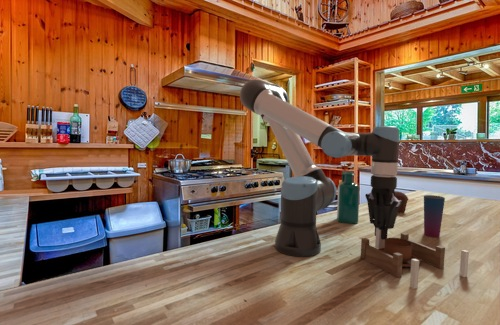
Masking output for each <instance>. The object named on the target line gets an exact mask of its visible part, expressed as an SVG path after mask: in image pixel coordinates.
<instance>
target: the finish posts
mask: <svg viewBox="0 0 500 325" xmlns="http://www.w3.org/2000/svg"><path fill="white" fill-rule="evenodd" d="M469 256H470V251H469V250H466V249H461V250H460V260H459V262H460V263H459V276H460V277H463V278H467V277H468V268H469ZM419 272H420V263H419V260H417V259H411V267H410V277H409V287H410V288H412V290H415V289H418V286H419Z"/></svg>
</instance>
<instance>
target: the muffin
mask: <svg viewBox="0 0 500 325" xmlns="http://www.w3.org/2000/svg"><path fill="white" fill-rule="evenodd" d="M395 194H396V196H395V197H396V198H397V199H398V200H401V201H402V204H401V206H400V207H399V210H398V213H397V214H403V213H405V211H406V208H407V203H408V201H409V197H408V195H406V194H405V193H404V192H401V191H396V190H395Z"/></svg>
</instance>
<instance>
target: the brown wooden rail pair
mask: <svg viewBox="0 0 500 325" xmlns="http://www.w3.org/2000/svg"><path fill="white" fill-rule="evenodd" d="M409 235H410V234H409V233H406V232H400V239H404V240H407V241H409V242H411V243H412V253H413V254H415V255H417V256H418V257H419V258H420V259H421V261H422V262H425V263H427V264H429V265H431V266H433V267H434V268H437V269H439V270H442V269H444V268H445V258H446V257H445V256H446V255H445V254H446V247H445V246H442V245H436V246H435V248H433V247H430V246H427V245H425V244H422V243H420V242H417V241H414V240H412V239H410V238H409ZM360 242H361V244H360V246H361V247H360V258H361V259H363V260H366V261H367V262H369V263H371V264H373V265H374V266H376V267H379V268H380V269H382V270H383V271H385V272H387V273H389V274H391V275H392V276H394V277H395V278H401V277H403V267H402V259H403V255H402V254H400V253H393V256H391V255H389V254H387V253H385V252H383V251H381V250H379V249H378V248H375V246H372V245H370V239H368V238H366V237H364V238H361V239H360Z"/></svg>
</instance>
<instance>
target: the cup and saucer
mask: <svg viewBox="0 0 500 325" xmlns="http://www.w3.org/2000/svg"><path fill="white" fill-rule="evenodd" d="M379 250H381V251H383V252H385V253H387V254H389V255H391V256H393V253H400V254H402V255H403V259H402V268H411V259H417V260H419V264H420V263H421V261H422V260H421V259H420V258H419V257H418V256H417V255H415V254H413V253H412V243H411V242H409V241H407V240H404V239H401V237H400V238H399V237H387V238H386V239H385V246H384V248H381V249H379Z"/></svg>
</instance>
